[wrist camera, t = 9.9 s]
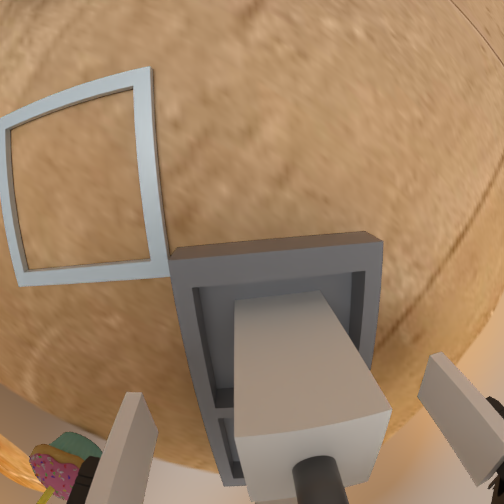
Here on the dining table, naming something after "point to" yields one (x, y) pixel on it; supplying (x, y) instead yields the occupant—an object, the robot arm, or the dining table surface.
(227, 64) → the dining table surface
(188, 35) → the dining table surface
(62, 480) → the cupcake
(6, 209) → the square frame
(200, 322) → the two-slot grey rack
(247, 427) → the white block with peg
